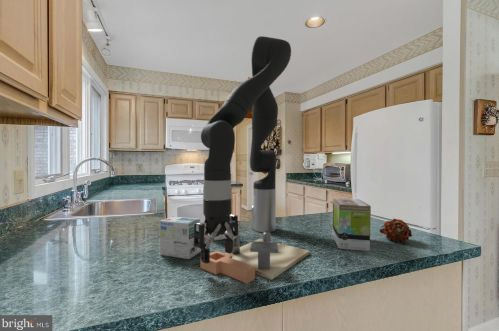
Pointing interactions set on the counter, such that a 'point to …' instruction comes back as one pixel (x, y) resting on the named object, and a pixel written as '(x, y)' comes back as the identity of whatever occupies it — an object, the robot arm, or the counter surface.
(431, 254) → the counter surface
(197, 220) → the light bulb box
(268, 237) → the cylinder
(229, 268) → the link
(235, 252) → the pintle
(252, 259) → the board
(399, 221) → the pine cone
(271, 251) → the block
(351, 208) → the tea box
